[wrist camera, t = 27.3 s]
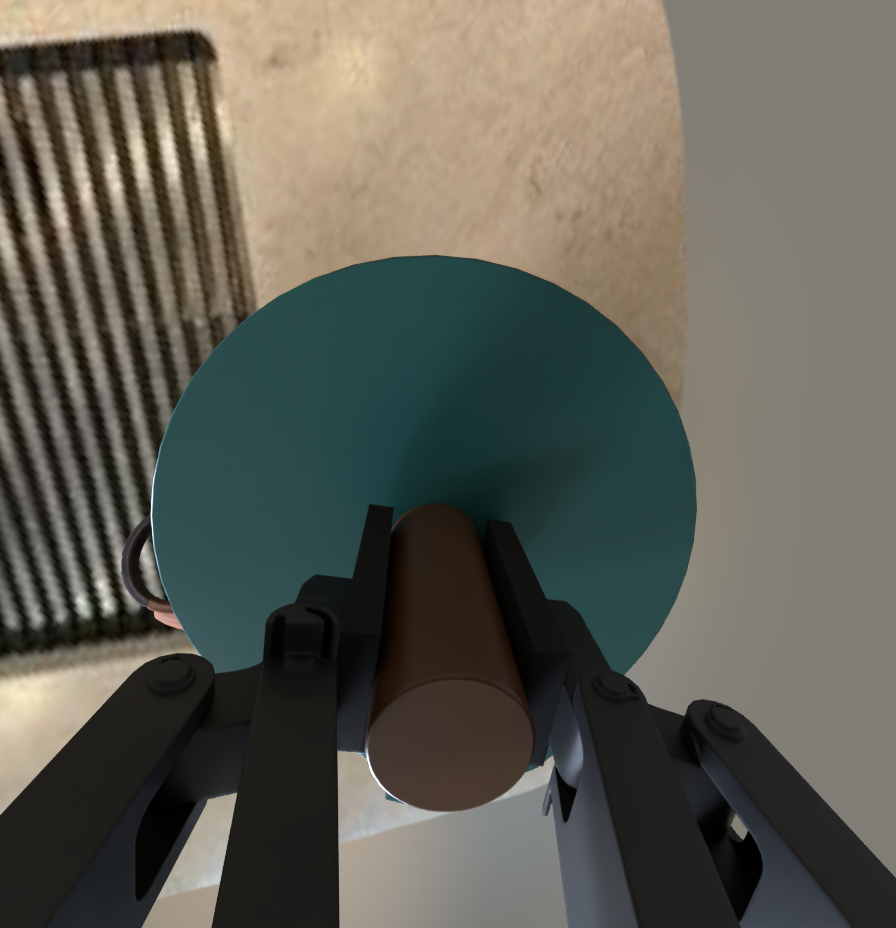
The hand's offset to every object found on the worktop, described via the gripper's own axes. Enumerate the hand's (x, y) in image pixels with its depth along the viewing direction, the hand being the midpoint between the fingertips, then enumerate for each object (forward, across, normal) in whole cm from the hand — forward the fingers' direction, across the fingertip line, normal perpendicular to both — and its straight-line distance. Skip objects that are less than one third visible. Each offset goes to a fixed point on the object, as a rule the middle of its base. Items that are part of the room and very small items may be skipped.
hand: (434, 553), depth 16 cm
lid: (+1, 0, 0) cm, 1 cm away
